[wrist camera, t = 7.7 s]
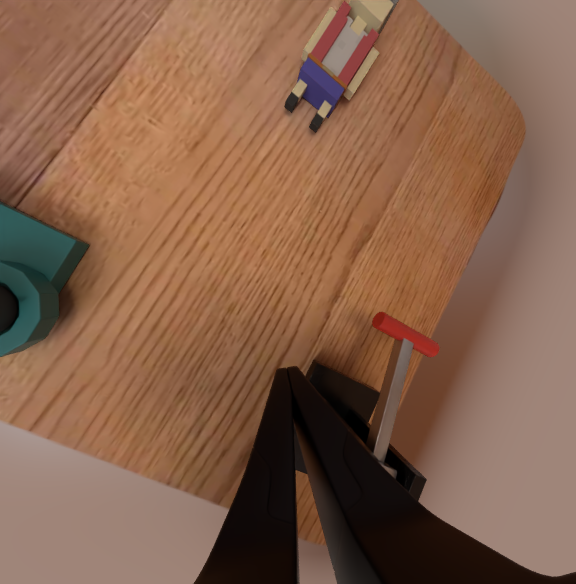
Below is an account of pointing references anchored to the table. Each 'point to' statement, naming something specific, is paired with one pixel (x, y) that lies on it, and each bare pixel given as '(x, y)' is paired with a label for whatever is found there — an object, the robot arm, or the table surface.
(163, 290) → the table surface
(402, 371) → the lever
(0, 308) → the button
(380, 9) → the toy
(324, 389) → the bracket
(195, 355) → the table surface
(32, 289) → the button box
